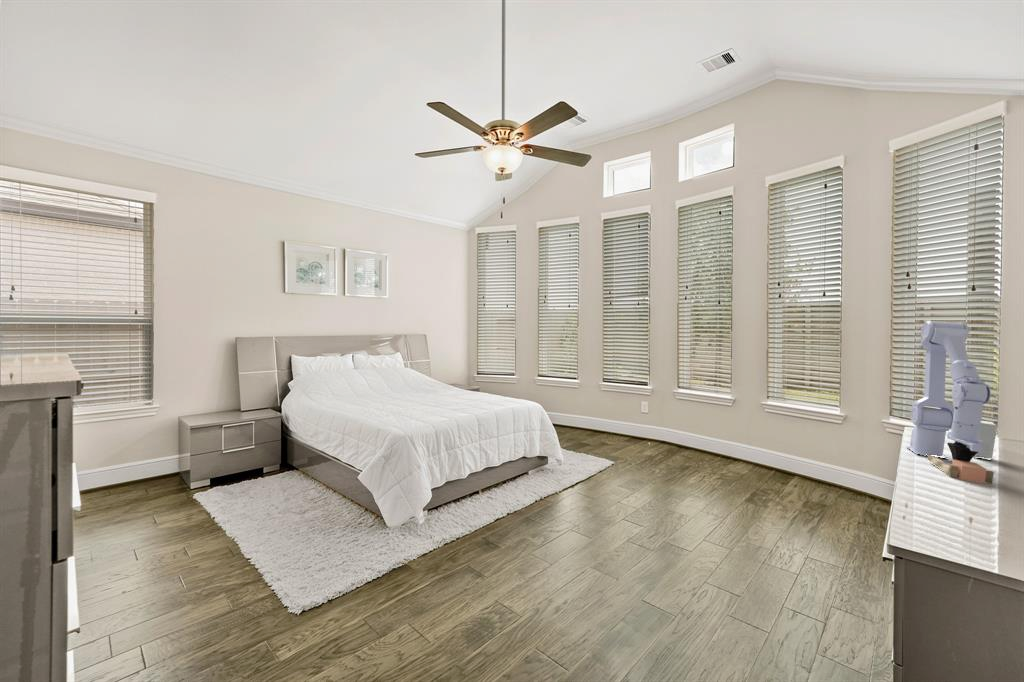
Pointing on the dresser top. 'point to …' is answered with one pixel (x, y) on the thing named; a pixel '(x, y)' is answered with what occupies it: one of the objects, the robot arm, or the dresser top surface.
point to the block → (970, 471)
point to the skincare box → (987, 439)
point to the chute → (955, 469)
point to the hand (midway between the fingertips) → (959, 469)
